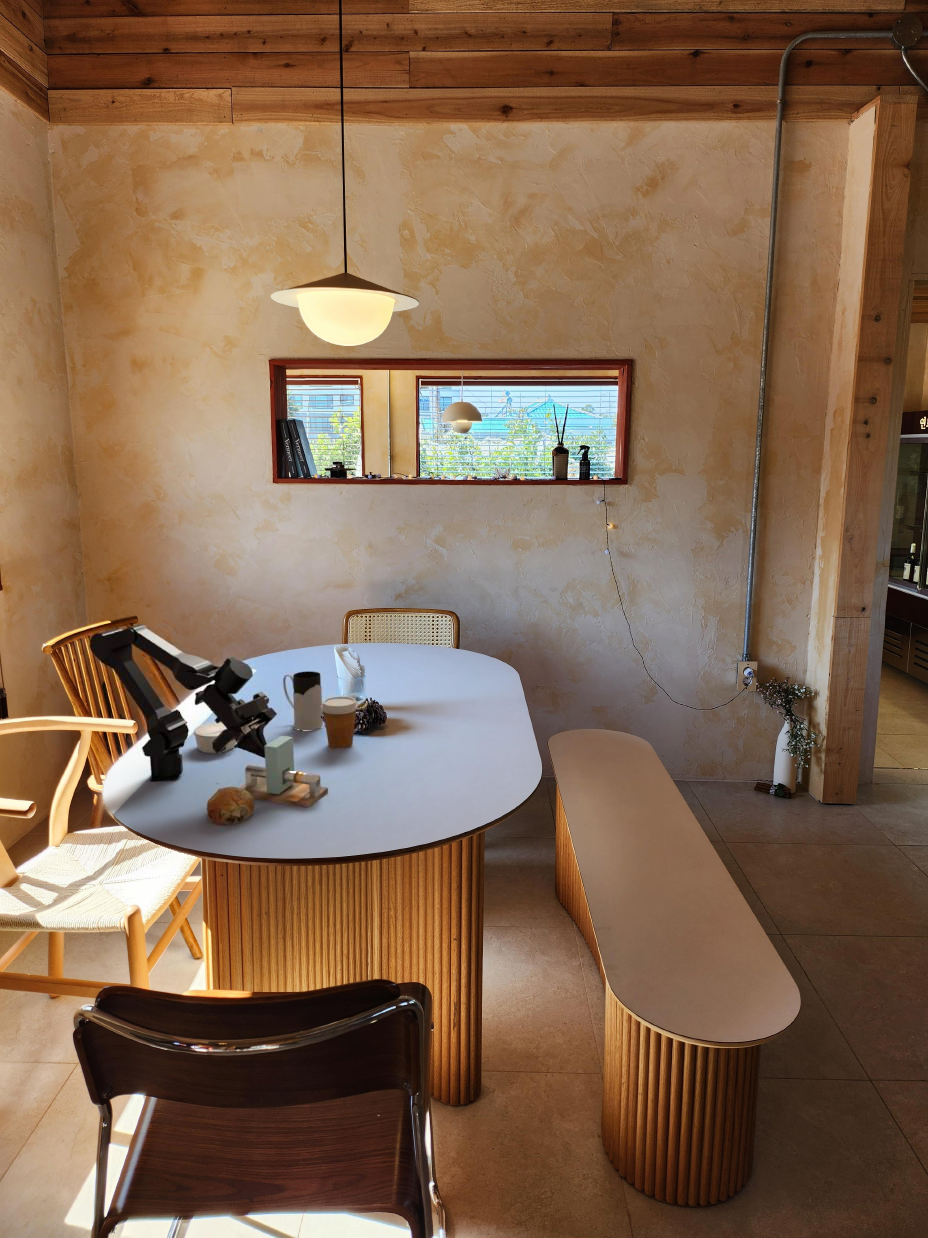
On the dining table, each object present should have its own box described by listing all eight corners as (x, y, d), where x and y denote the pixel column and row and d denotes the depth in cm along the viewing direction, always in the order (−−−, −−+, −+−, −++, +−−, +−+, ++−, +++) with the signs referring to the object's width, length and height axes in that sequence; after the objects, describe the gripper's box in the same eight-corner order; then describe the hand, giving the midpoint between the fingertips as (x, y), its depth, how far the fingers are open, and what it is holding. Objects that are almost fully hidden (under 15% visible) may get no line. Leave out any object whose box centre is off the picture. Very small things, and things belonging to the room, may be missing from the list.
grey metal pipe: (245, 786, 190) (244, 767, 189) (251, 782, 193) (250, 763, 192) (315, 797, 184) (314, 777, 184) (321, 793, 187) (320, 773, 186)
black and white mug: (307, 733, 229) (305, 680, 226) (273, 723, 238) (271, 672, 235) (330, 725, 236) (329, 674, 233) (297, 715, 244) (295, 666, 241)
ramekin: (226, 756, 212) (225, 737, 211) (186, 753, 214) (185, 734, 213) (246, 742, 223) (245, 723, 221) (208, 739, 225) (206, 720, 224)
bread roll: (258, 824, 182) (259, 787, 184) (247, 824, 172) (249, 785, 174) (212, 825, 181) (214, 787, 183) (199, 825, 171) (201, 785, 173)
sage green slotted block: (266, 792, 186) (264, 745, 184) (283, 781, 192) (281, 735, 190) (278, 794, 185) (276, 747, 183) (294, 782, 191) (292, 737, 189)
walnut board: (233, 795, 188) (233, 790, 188) (256, 781, 196) (255, 776, 196) (308, 807, 182) (308, 802, 181) (328, 791, 190) (327, 787, 190)
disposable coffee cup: (324, 752, 215) (323, 708, 212) (320, 740, 224) (319, 697, 221) (361, 749, 217) (360, 705, 215) (355, 737, 226) (354, 694, 224)
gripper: (220, 695, 178) (267, 750, 177) (267, 673, 195) (311, 723, 194) (191, 727, 182) (237, 780, 181) (240, 703, 199) (283, 751, 198)
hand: (269, 757), depth 188 cm, fingers closed
